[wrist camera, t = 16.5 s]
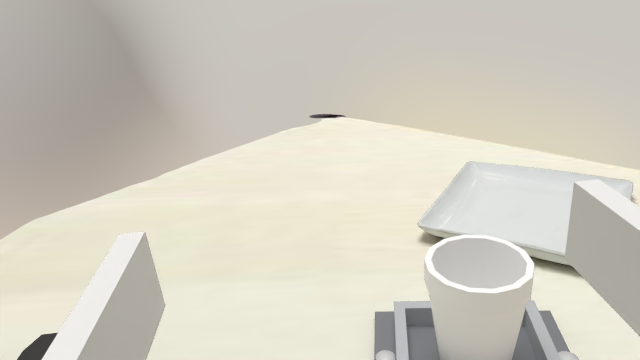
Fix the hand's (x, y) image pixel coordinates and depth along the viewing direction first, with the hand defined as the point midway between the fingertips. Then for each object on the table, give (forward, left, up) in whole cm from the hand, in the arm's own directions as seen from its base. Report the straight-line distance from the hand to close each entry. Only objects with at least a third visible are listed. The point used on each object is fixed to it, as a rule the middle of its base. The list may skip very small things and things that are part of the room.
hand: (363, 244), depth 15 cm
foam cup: (+9, +26, -31) cm, 41 cm away
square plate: (+23, +59, -33) cm, 71 cm away
